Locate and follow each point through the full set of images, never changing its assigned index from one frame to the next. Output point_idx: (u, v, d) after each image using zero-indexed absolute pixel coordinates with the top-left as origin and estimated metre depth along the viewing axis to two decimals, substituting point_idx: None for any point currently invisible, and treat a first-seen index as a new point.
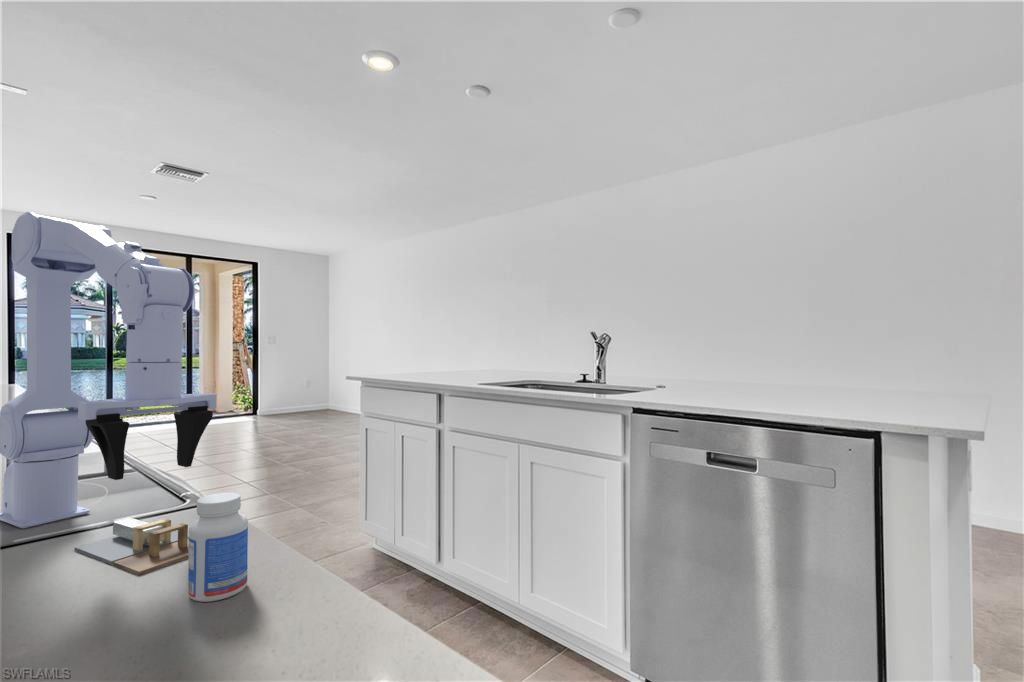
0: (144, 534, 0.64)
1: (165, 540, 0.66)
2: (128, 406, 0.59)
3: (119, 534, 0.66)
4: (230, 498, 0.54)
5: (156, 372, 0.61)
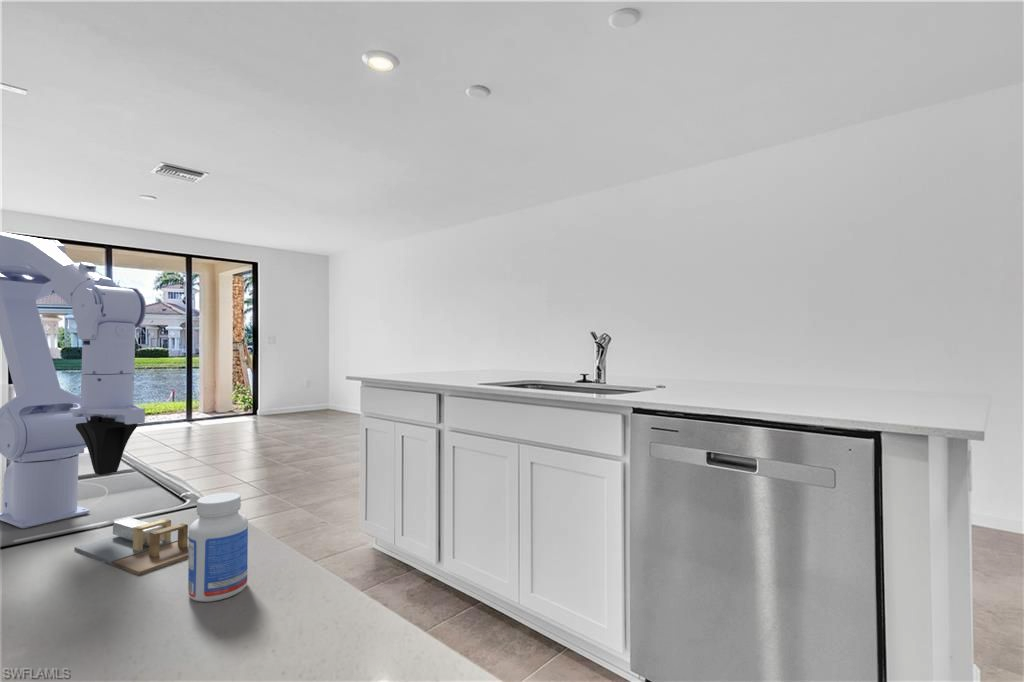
0: (144, 534, 0.64)
1: (165, 540, 0.66)
2: None
3: (119, 534, 0.66)
4: (230, 498, 0.54)
5: (81, 382, 0.68)
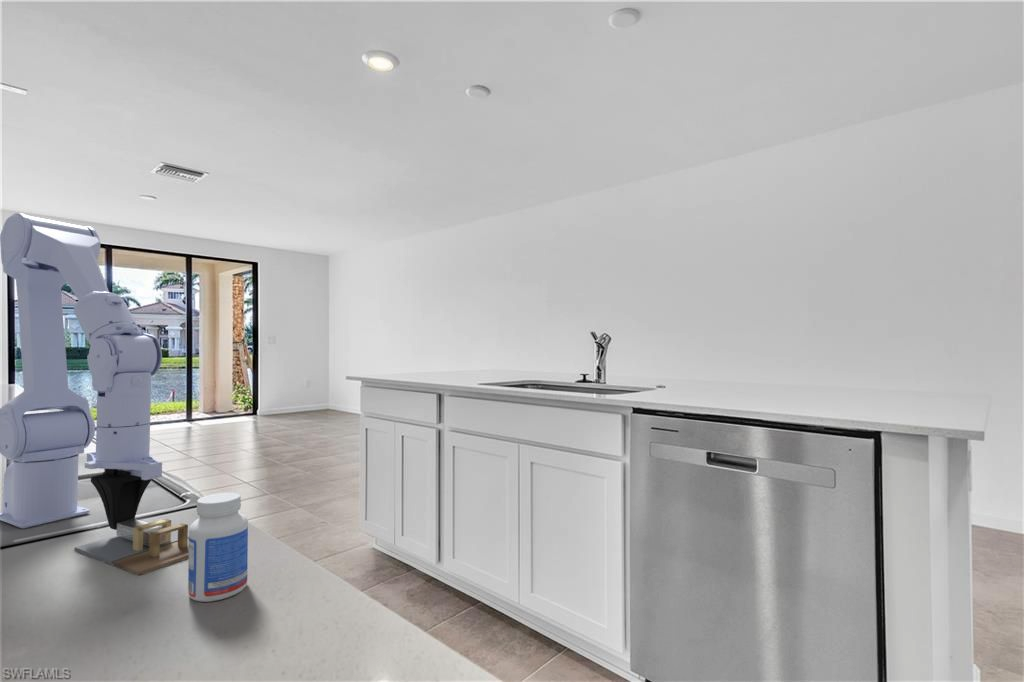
0: (148, 535, 0.63)
1: None
2: None
3: (123, 535, 0.66)
4: (230, 498, 0.54)
5: (96, 435, 0.66)
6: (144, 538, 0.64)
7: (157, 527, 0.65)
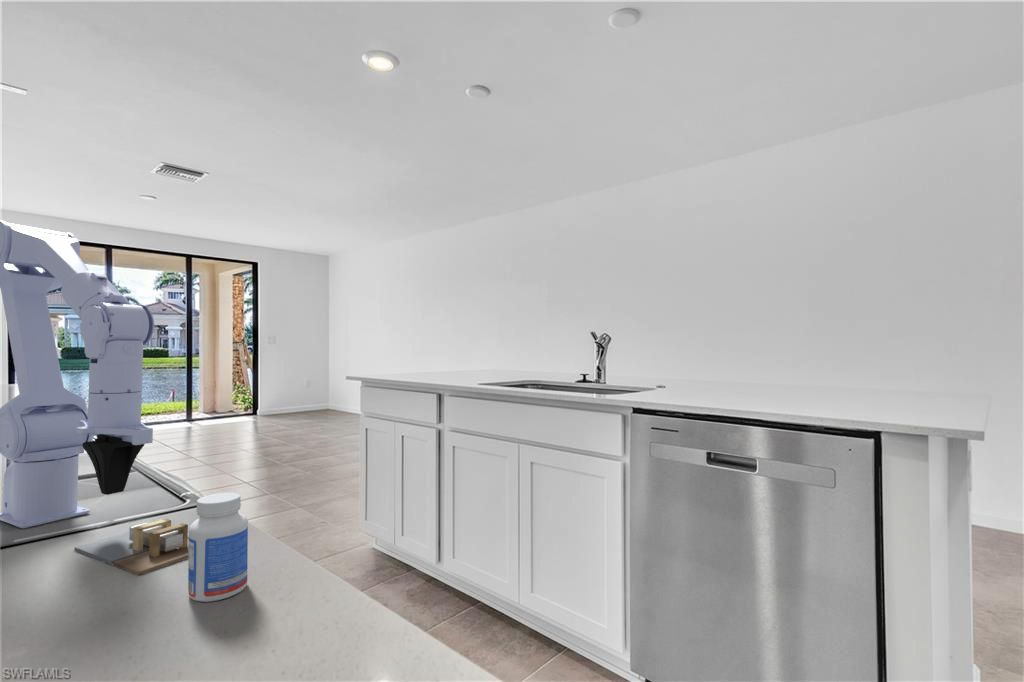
0: (162, 540, 0.62)
1: None
2: None
3: None
4: (230, 498, 0.54)
5: (88, 401, 0.67)
6: None
7: None
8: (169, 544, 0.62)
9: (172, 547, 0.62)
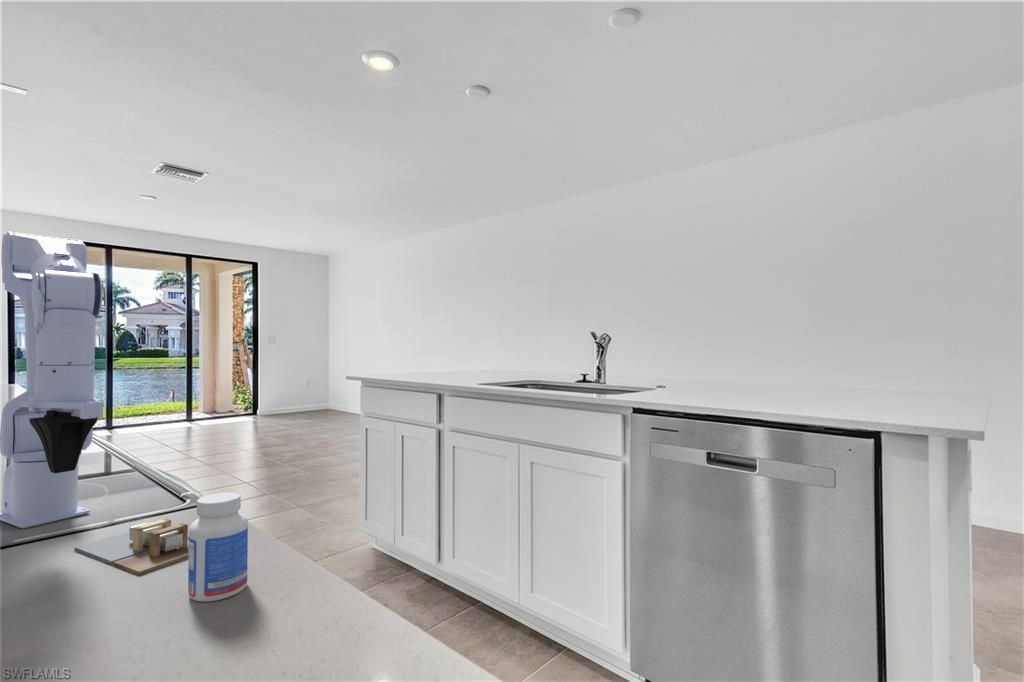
0: (162, 540, 0.62)
1: None
2: None
3: None
4: (230, 498, 0.54)
5: (35, 374, 0.64)
6: None
7: None
8: (169, 544, 0.62)
9: (172, 547, 0.62)
